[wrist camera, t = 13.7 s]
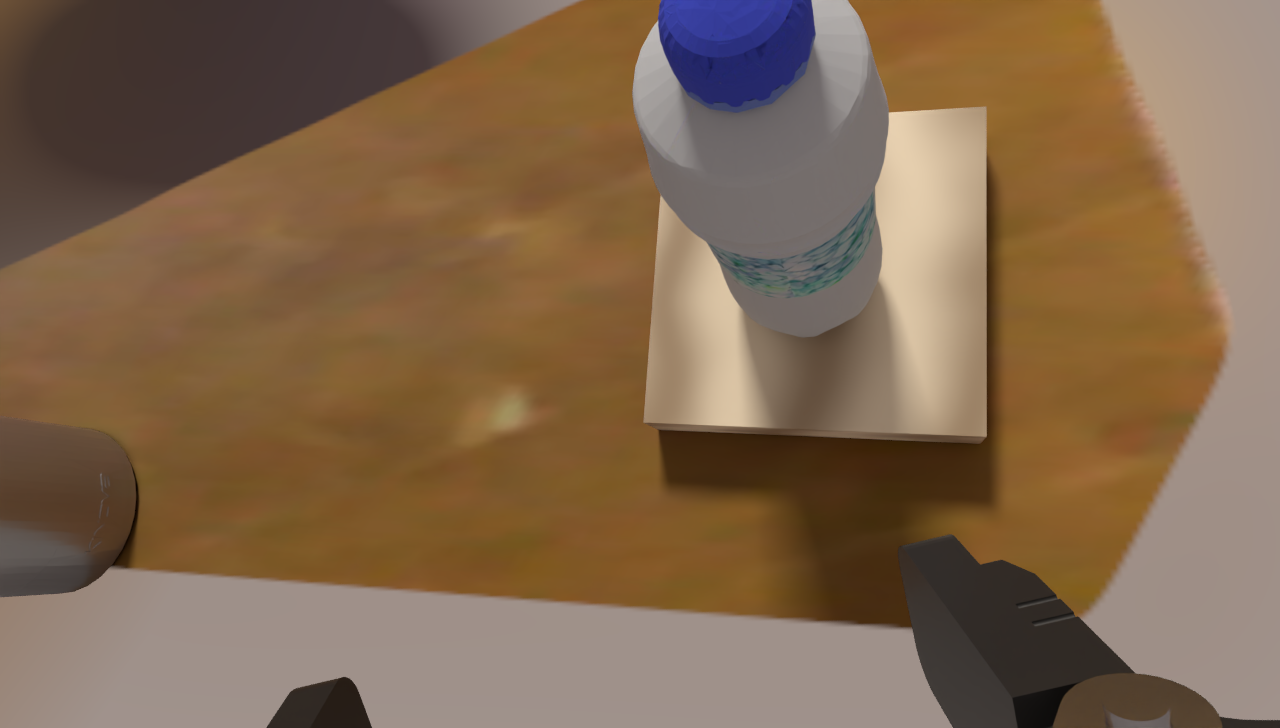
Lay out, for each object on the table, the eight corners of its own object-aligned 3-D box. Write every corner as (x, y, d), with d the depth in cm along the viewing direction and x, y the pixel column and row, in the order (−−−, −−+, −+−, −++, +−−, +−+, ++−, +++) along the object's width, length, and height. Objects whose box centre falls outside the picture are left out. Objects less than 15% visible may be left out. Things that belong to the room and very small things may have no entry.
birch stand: (657, 429, 39) (643, 422, 37) (678, 150, 42) (665, 126, 40) (979, 443, 35) (986, 436, 33) (980, 133, 38) (986, 106, 36)
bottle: (880, 192, 36) (875, -191, 17) (894, 344, 35) (904, 108, 16) (726, 212, 38) (567, -115, 19) (732, 357, 36) (569, 160, 18)
